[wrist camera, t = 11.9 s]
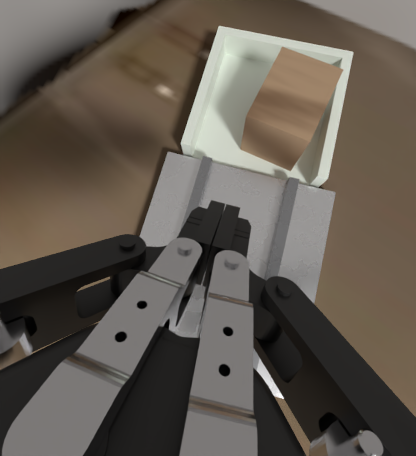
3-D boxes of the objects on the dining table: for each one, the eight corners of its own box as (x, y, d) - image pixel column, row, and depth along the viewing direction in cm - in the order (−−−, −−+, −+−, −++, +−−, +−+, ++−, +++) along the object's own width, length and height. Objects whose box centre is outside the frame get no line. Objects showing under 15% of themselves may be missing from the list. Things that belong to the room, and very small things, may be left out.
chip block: (310, 142, 22) (343, 69, 23) (246, 115, 23) (282, 46, 24) (290, 171, 28) (318, 111, 29) (240, 149, 29) (269, 92, 30)
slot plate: (290, 395, 24) (298, 407, 22) (110, 338, 26) (99, 344, 23) (329, 197, 28) (340, 188, 25) (170, 157, 29) (166, 146, 27)
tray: (316, 189, 28) (327, 178, 25) (184, 157, 29) (180, 143, 26) (340, 73, 31) (353, 52, 28) (218, 49, 32) (219, 25, 29)
